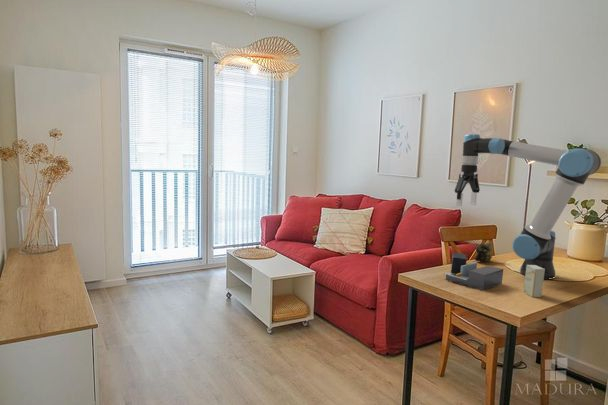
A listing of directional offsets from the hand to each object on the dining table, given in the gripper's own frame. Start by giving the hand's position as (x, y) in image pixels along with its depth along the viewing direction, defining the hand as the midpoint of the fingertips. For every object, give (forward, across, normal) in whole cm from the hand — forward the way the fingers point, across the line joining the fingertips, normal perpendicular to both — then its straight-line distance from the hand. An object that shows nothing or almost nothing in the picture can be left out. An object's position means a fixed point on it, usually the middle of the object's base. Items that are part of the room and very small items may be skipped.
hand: (466, 205), depth 214 cm
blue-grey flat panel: (+31, +26, +18) cm, 44 cm away
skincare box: (+32, +19, +44) cm, 58 cm away
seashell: (+32, -16, +2) cm, 36 cm away
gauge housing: (+32, +24, +20) cm, 45 cm away
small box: (+32, +23, +12) cm, 41 cm away
